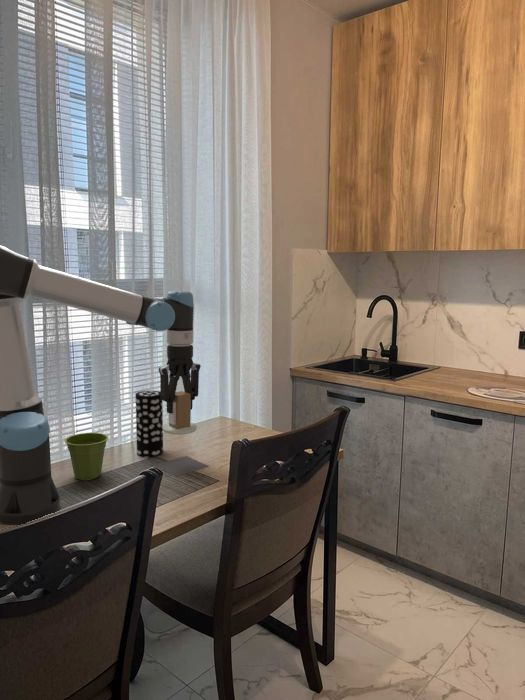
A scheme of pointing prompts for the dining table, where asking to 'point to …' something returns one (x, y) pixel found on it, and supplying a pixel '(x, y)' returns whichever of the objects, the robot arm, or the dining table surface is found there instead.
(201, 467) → the mat
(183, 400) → the wooden post on disc
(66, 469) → the dining table surface
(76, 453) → the plant pot
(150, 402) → the white-spotted black cylinder
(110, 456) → the dining table surface
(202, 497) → the dining table surface
